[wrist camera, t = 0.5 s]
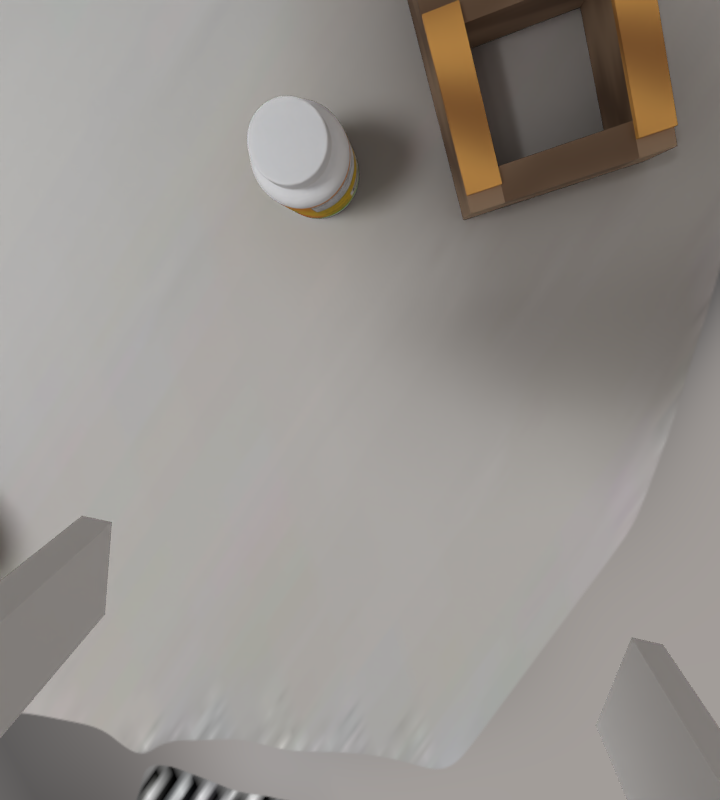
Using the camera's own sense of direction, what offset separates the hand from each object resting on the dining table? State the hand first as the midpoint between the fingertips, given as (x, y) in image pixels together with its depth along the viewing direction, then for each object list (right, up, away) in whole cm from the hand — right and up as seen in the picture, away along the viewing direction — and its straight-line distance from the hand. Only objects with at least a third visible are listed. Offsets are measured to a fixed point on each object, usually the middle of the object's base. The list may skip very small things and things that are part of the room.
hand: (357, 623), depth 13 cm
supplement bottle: (-3, +20, +21) cm, 30 cm away
